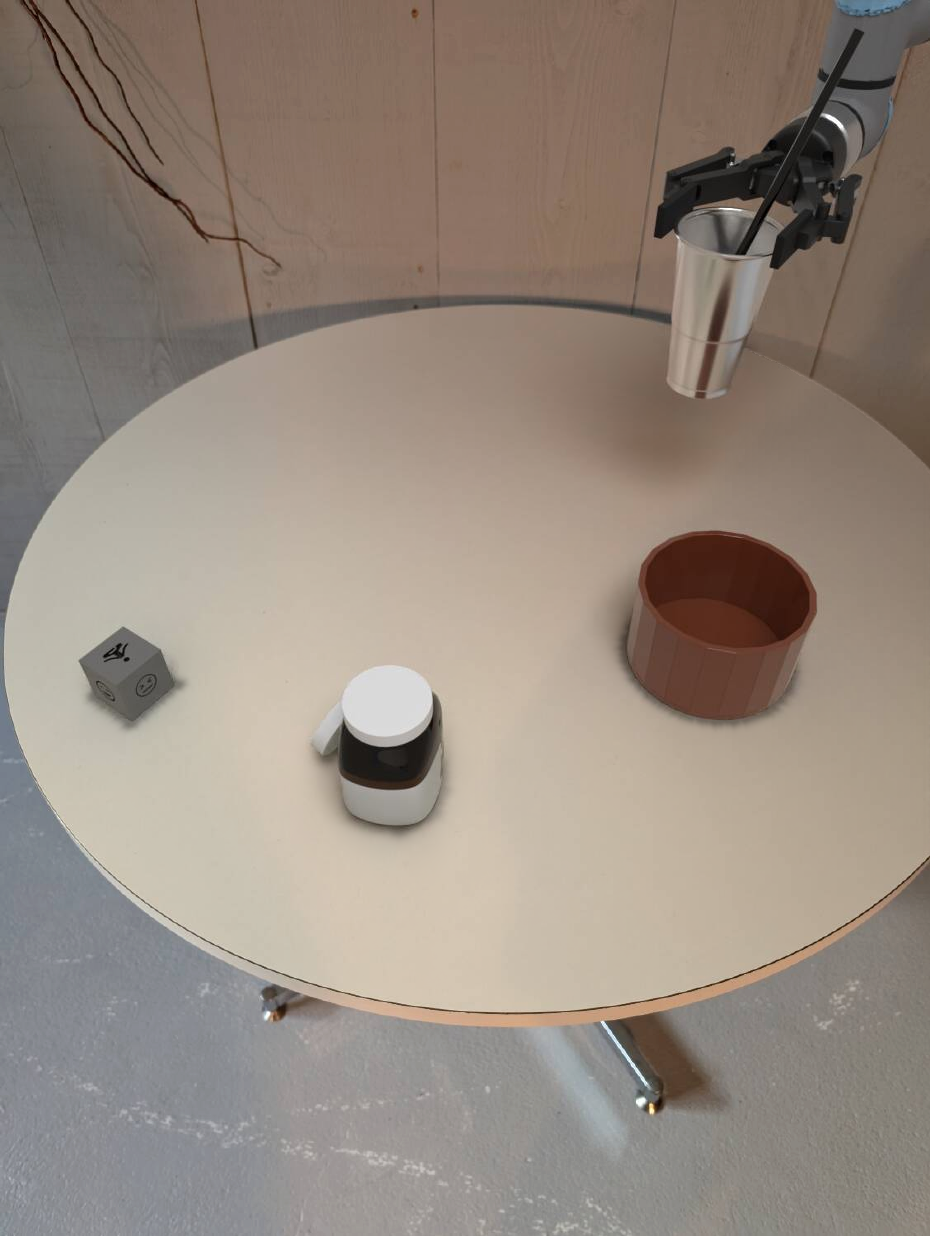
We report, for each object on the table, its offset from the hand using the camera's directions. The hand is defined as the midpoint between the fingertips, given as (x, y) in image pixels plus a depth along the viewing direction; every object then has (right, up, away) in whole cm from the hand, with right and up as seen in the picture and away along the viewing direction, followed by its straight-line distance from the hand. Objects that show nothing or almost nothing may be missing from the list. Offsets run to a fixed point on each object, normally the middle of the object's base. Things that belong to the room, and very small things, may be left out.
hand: (716, 237), depth 77 cm
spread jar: (-29, -46, 0) cm, 54 cm away
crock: (+2, -36, +8) cm, 37 cm away
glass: (+3, -9, +14) cm, 17 cm away
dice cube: (-52, -39, +6) cm, 65 cm away
